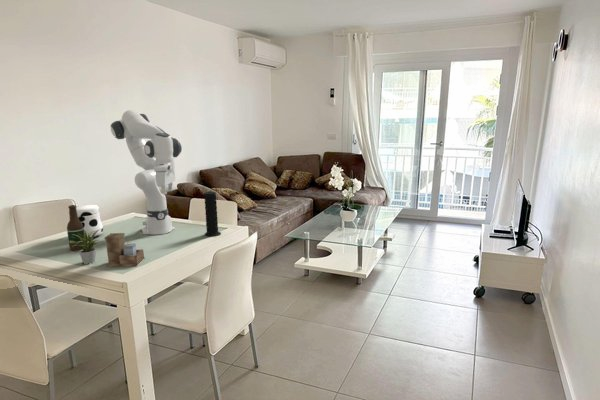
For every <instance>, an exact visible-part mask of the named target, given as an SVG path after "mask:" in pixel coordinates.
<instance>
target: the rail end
mask: <svg viewBox="0 0 600 400" xmlns="http://www.w3.org/2000/svg"><path fill="white" fill-rule="evenodd" d="M136 250H137V246H136V243H134V242H133V243H131V242H130V243H125V246H124V253H125V255H136V254H137V253H136Z"/></svg>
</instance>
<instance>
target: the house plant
mask: <svg viewBox="0 0 600 400" xmlns="http://www.w3.org/2000/svg"><path fill="white" fill-rule="evenodd" d="M100 230H101V229H100ZM98 231H99V230H97V231H96V232H95V233H94V234H93V235H92V238H90V236H89V233H88V238H87V233H86V231H85V230H84V237H83V236H82V235H81V234H80V235H81V236H82V237H83V238H81V237H80V236H78V235H76V236H77V237H78V238H79V239H80V240H81V241H83V242H82V243H83V244H84V245H83V244H81V243H79V242H75V241H69V240H68V243H69V242H72V243H74V244H76V245H73V246H79V247H81V248H82V250H78V252H79V255H80V258H81V260H82V264H83V263H84V264H83V265H89V264H88V263H91V264H94V263H95V262H96V251H97V249H96V248H95V247H93V246H94V245H97V244H99V243H98V242H99V240H95V238H97V237H96V236H95V237H94V235H95V234H96V233H97V232H98ZM93 232H94V231H93ZM91 233H92V232H91ZM78 234H79V233H78ZM72 235H75V234H72ZM90 235H91V234H90ZM93 237H94V238H93ZM73 238H74V237H73ZM89 238H90V239H89ZM97 241H98V242H97ZM73 246H72V247H73ZM93 262H94V263H93Z"/></svg>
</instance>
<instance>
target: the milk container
mask: <svg viewBox="0 0 600 400" xmlns="http://www.w3.org/2000/svg"><path fill="white" fill-rule="evenodd" d="M76 210H77V215H78V219H79V220H80V221H81V222H82V224H83V227H84V230H85V231H86V233H87V238H88V233H89V236H90V238H89V240H90V239H91V238H92V235H93V234H94V233H95V232H96V231H97V230H99V231H98V232H97V233H96V234H95V235H94V237H93V239H95V238H97V237H99V236H102V234H103V233H104V226H103V224H102V220H101V213H100V208H99V206H98V205H96V204H86V205H85V204H84V205H78V206H77V205H76ZM68 214H69V213H68ZM69 218H70V214H69ZM100 229H101V230H100ZM93 231H94V232H93ZM91 232H92V233H91ZM90 234H91V235H90ZM95 236H96V237H95Z"/></svg>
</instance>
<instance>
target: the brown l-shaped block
mask: <svg viewBox="0 0 600 400" xmlns="http://www.w3.org/2000/svg"><path fill="white" fill-rule="evenodd" d="M104 240H105V244H106V252H107V261H108V262H107V264H106V267H107V266H121V267H138V266H139V265H140V264H141V263H142V262H143V261H144V260H145V255H144V254H145V253H144V249H142V248H141V249H136V253H137V254H136V255H125V253H124V246H125V245H126V242H125V232H118V233H117V232H116V233H114V232H113V233H112V232H111V233H109V234H108V235H106V236H105V237H104ZM143 259H144V260H143ZM142 260H143V261H142ZM141 261H142V262H141ZM140 262H141V263H140ZM139 263H140V264H139ZM138 264H139V265H138ZM137 265H138V266H137Z"/></svg>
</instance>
